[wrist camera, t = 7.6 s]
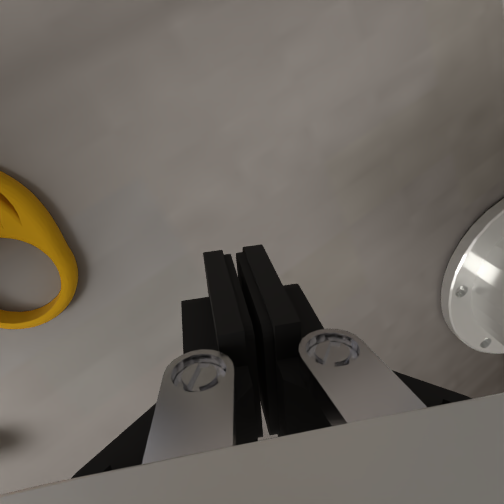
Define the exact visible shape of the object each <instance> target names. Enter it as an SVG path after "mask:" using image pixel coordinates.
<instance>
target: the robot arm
mask: <svg viewBox="0 0 504 504" xmlns="http://www.w3.org/2000/svg"><path fill="white" fill-rule="evenodd" d="M203 256H204V264H205V271H206V279H207V286H208V294H209V297H205V298H198V299H192V300H185V301H181V306H182V329H183V352H184V354H183V355H181V356H179V357H178V358H176V359H174V360H173V361H172V362H171V363H170V364H169V365H168V366H167V368H166V370H165V372H164V375H163V379H162V383H161V387H160V391H159V395H158V399H157V403H156V404H155V405H153V406H152V407H151V408H150V409H149V410H148V411H147V412H145V413H144V414H143V415H142V416H141V417H140V418H139V419H137V420H136V421H135V422H134V423H133V424H132V425H130V426H129V427H128V428H127V429H126V430H125V431H124V432H122V433H121V434H120V435H119V436H118V437H117V438H116V439H114V440H113V441H112V442H111V443H110V444H109V445H108V446H106V447H105V448H104V449H103V450H102V451H101V452H100V453H98V454H97V455H96V456H95V457H94V458H93V459H92V460H90V461H89V462H88V463H87V464H86V465H85V466H84V467H82V468H81V469H80V470H79V471H78V472H77V473H76V474H75V475H74V476H73V477H72V478H71V479H67V480H62V481H58V482H53V483H48V484H44V485H39V486H35V487H31V488H27V489H22V490H18V491H14V492H10V493H5V494H1V495H0V504H504V393H500V394H494V395H489V396H484V397H479V398H474V399H472V398H470V397H467V396H465V395H462V394H459V393H456V392H453V391H450V390H447V389H444V388H442V387H439V386H436V385H433V384H430V383H427V382H424V381H421V380H418V379H415V378H412V377H410V376H407V375H404V374H401V373H398V372H395V371H392V370H391V369H390V368H389V367H388V366H387V365H386V364H385V363H384V362H383V361H382V360H381V359H380V358H379V357H378V356H377V355H376V354H375V353H374V352H373V351H372V350H371V349H370V348H369V347H368V346H367V344H366V343H365V342H364V341H363V340H361V339H360V338H359V337H358V336H356V335H355V334H352V333H350V332H348V331H344V330H339V329H324V328H323V326H322V324H321V323H320V321H319V319H318V317H317V316H316V314H315V312H314V311H313V309H312V307H311V305H310V304H309V302H308V300H307V298H306V297H305V295H304V293H303V291H302V290H301V288H300V286H299V285H298V284H291V285H284V286H283V285H282V283H281V281H280V279H279V277H278V275H277V273H276V271H275V269H274V267H273V265H272V263H271V261H270V259H269V257H268V255H267V253H266V251H265V249H264V247H263V245H255V246H247V247H243V252H241V253H236V261H237V271H238V276H237V273H236V270H235V267H234V264H233V260H232V257H231V254H226V255H224V254H223V251H222V250H218V251H211V252H204V253H203ZM441 308H442V312H443V316H444V319H445V321H446V323H447V325H448V327H449V329H450V330H451V331H452V332H453V333H454V334H455V335H456V336H457V337H458V338H459V339H460V340H461V341H462V342H464V343H465V344H466V345H468V346H469V347H470V348H473V349H475V350H477V351H480V352H485V353H492V354H497V353H504V198H503V199H502V200H501V201H499V202H498V203H497V204H495V205H494V206H493V207H491V208H490V209H489V210H487V211H486V212H485V213H484V214H483V215H482V216H481V217H480V218H479V219H478V220H477V221H476V222H475V223H474V224H473V225H472V227H471V228H470V229H469V230H468V232H467V233H466V234H465V236H464V237H463V238H462V240H461V241H460V243H459V244H458V246H457V248H456V250H455V251H454V253H453V255H452V257H451V259H450V261H449V264H448V266H447V269H446V272H445V274H444V279H443V284H442V289H441ZM260 402H261V405H262V409H263V413H264V417H265V420H266V424H267V428H268V432H269V435H274V434H278V437H276V438H271V439H266V440H261V441H258V438H259V437H263V429H262V417H261V405H260Z"/></svg>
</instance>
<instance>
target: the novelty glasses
mask: <svg viewBox="0 0 504 504" xmlns="http://www.w3.org/2000/svg"><path fill="white" fill-rule="evenodd" d="M0 238H12V239H17V240H21V241H24V242H27V243H29V244H32V245H33V246H35V247H37V248H39V249H40V250H42V251H43V252H44V253H45V254H47V255H48V256H49V257H50V259H51V260H52V261H53V262H54V264H55V265H56V267H57V269H58V271H59V274H60V278H61V290H60V292H59V294H58V295H57V296H56V297H55V298H54V299H53V300H52V301H51V302H50V303H48V304H46V305H45V306H43V307H41V308H38V309H35V310H32V311H24V312H12V311H5V310H0V328H4V329H24V328H30V327H35V326H38V325H41V324H43V323H46V322H48V321H50V320H52V319H53V318H55V317H56V316H58V315H59V314H60V313H61V312H62V311H63V310H64V309H65V308H66V307H67V306H68V305H69V303H70V302H71V300H72V298H73V296H74V294H75V290H76V287H77V283H78V267H77V263H76V260H75V257H74V255H73V253H72V251H71V250H70V248H69V247H68V245H67V243H66V241H65V239H64V237H63V235H62V233H61V231H60V230H59V228H58V226H57V225H56V223H55V221H54V220H53V218H52V217H51V215H50V214H49V212H48V211H47V209H46V208H45V207H44V205H43V204H42V203H41V202H40V201H39V200H38V199H37V198H36V196H35V195H34V194H33V193H32V192H31V191H29V190H28V189H27V188H26V187H25V186H23V185H22V184H21V183H19V182H18V181H16V180H15V179H13V178H12V177H10V176H9V175H7V174H5V173H3V172H2V171H0Z"/></svg>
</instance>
